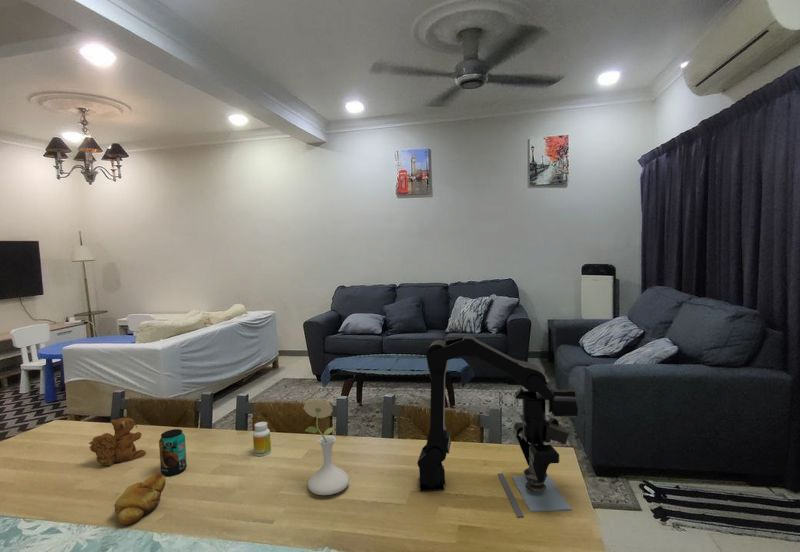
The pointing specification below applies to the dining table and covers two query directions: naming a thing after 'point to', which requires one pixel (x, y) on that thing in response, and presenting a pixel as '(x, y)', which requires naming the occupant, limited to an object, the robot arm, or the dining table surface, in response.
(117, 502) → the bread roll
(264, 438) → the supplement bottle
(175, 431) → the beverage can
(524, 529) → the dining table surface
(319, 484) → the flower in vase
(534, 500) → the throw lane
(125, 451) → the stuffed squirrel
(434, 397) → the robot arm
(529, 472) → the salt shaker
